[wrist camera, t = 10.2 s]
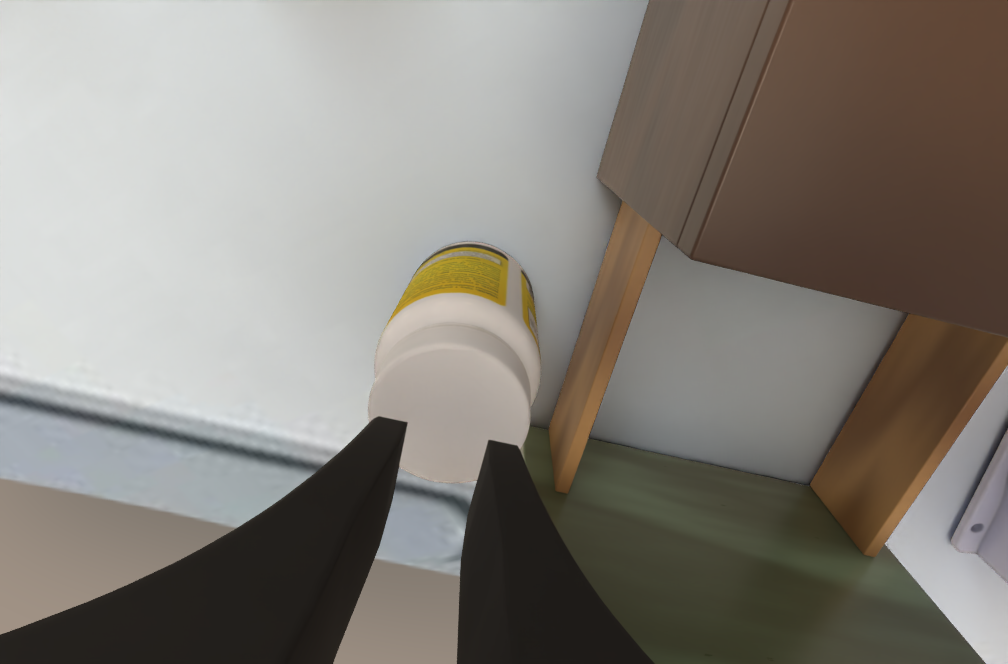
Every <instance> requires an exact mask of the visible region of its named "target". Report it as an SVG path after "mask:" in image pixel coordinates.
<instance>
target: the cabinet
mask: <svg viewBox="0 0 1008 664" xmlns="http://www.w3.org/2000/svg"><path fill="white" fill-rule="evenodd" d="M596 177H597V178H598V179H599V180H600V181H601V182H602V183H603V184H604V185H606V186H607V187H608V188H609V189H610V190H611V191H613V192H614V193H615V194H616V195H617V196H618V197H619V198H621V199H622V200H623V201H624V202H625V203H626V204H627V205H629V206H630V207H631V208H632V209H633V210H634V211H636V212H637V213H638V214H639V215H640V216H641V217H642V218H644V219H645V220H646V221H647V222H648V223H649V224H650V225H652V226H653V227H654V228H655V229H656V230H657V231H659V232H660V233H661V234H662V235H663V236H664V237H665V238H667V239H668V240H669V241H670V242H671V243H672V244H673V245H675V246H676V247H677V248H678V249H680V250H681V251H682V252H683V253H684V254H685V255H687V256H688V257H689V258H690V259H691V260H695V261H699V262H703V263H707V264H711V265H715V266H719V267H723V268H727V269H731V270H735V271H740V272H744V273H748V274H752V275H756V276H760V277H764V278H768V279H772V280H776V281H780V282H784V283H788V284H792V285H796V286H800V287H804V288H808V289H812V290H817V291H821V292H825V293H829V294H833V295H837V296H841V297H845V298H849V299H853V300H857V301H861V302H865V303H869V304H873V305H877V306H881V307H885V308H889V309H893V310H898V311H902V312H906V313H910V314H914V315H918V316H922V317H926V318H930V319H934V320H938V321H942V322H946V323H950V324H954V325H958V326H962V327H966V328H970V329H974V330H979V331H983V332H987V333H991V334H995V335H999V336H1003V337H1007V338H1008V0H649V3H648V6H647V10H646V13H645V16H644V20H643V23H642V26H641V30H640V33H639V36H638V40H637V43H636V46H635V50H634V53H633V56H632V60H631V63H630V66H629V70H628V73H627V76H626V80H625V83H624V86H623V90H622V93H621V96H620V100H619V103H618V106H617V110H616V113H615V116H614V120H613V123H612V126H611V130H610V133H609V136H608V140H607V143H606V146H605V150H604V153H603V156H602V160H601V163H600V166H599V170H598V173H597V176H596Z"/></svg>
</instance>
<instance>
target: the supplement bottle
mask: <svg viewBox="0 0 1008 664" xmlns="http://www.w3.org/2000/svg"><path fill="white" fill-rule="evenodd" d="M374 369H375V378H376V379H375V382H374V384H373V386H372V390H371V393H370V396H369V403H368V418H369V423H370V421H371V420H372V419H374V418H376V417H378V416H381V417H385V418H390V419H395V420H399V421H404V422H408V424H407V429H406V434H405V439H404V444H403V449H402V454H401V459H400V464H399V467H401V468H402V469H404V470H405V471H407V472H409V473H411V474H413V475H415V476H417V477H420V478H423V479H426V480H430V481H435V482H442V483H464V482H471V481H475V480H478V476H479V472H480V469H481V465H482V461H483V458H484V454H485V450H486V447H487V443H488V440H494V441H498V442H503V443H508V444H512V445H517V446H518V448H519V449H521V447H522V445H523V443H524V442H525V440H526V437H527V434H528V431H529V426H530V420H531V407H532V405H533V403H534V401H535V398H536V396H537V393H538V389H539V386H540V380H541V357H540V348H539V340H538V331H537V322H536V313H535V304H534V296H533V291H532V287H531V284H530V281H529V279H528V277H527V275H526V273H525V272H524V270H523V269H522V267H521V266H520V265H519V264H518V263H517V262H516V261H515V260H514V259H513V258H512V257H511V256H510V255H508V254H507V253H505V252H503V251H502V250H500V249H498V248H496V247H494V246H491V245H488V244H485V243H480V242H459V243H455V244H451V245H448V246H445V247H443V248H441V249H439V250H437V251H436V252H434V253H433V254H432V255H430V256H429V257H428V258H427V259H426V260H425V261H424V262H423V263H422V264H421V265H420V267H419V268H418V269H417V271H416V272H415V274H414V276H413V277H412V280H411V281H410V283H409V285H408V287H407V289H406V290H405V292H404V294H403V296H402V298H401V299H400V301H399V303H398V305H397V307H396V309H395V311H394V312H393V314H392V316H391V318H390V320H389V321H388V323H387V325H386V327H385V329H384V331H383V332H382V334H381V337H380V339H379V341H378V345H377V349H376V354H375V363H374Z"/></svg>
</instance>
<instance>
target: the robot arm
mask: <svg viewBox="0 0 1008 664" xmlns="http://www.w3.org/2000/svg"><path fill="white" fill-rule="evenodd" d="M407 424H408V422H404V421H399V420H395V419H390V418H385V417H381V416H378V417H376V418H374V419H372V420H371V421H370V423H369V424H368V425H367V426H366V427H365V428H364V429H363V430H362V431H361V432H360V433H359V434H358V435H357V436H356V437H355V438H354V439H353V440H352V441H351V442H350V443H349V444H348V445H347V446H346V447H345V448H344V449H343V450H341V451H340V452H339V453H338V454H337V455H336V456H335V457H333V458H332V459H331V460H330V461H329V462H328V463H326V464H325V465H324V466H323V467H322V468H321V469H320V470H318V471H317V472H316V473H315V474H313V475H312V476H311V477H310V478H308V479H307V480H306V481H304V482H303V483H302V484H300V485H299V486H298V487H296V488H295V489H294V490H293V491H291V492H290V493H289V494H287V495H286V496H285V497H283V498H282V499H281V500H279V501H278V502H276V503H275V504H273V505H272V506H270V507H269V508H268V509H266V510H265V511H263V512H262V513H260V514H259V515H257V516H255V517H254V518H252V519H251V520H249V521H248V522H246V523H244V524H243V525H241V526H240V527H238V528H236V529H235V530H233V531H231V532H230V533H228V534H226V535H224V536H223V537H221V538H219V539H217V540H216V541H214V542H212V543H210V544H209V545H207V546H205V547H203V548H202V549H200V550H198V551H196V552H194V553H192V554H191V555H189V556H187V557H185V558H183V559H181V560H179V561H177V562H175V563H173V564H171V565H169V566H167V567H165V568H163V569H161V570H158V571H156V572H154V573H152V574H150V575H148V576H146V577H143V578H141V579H139V580H137V581H135V582H133V583H131V584H129V585H127V586H124V587H122V588H119V589H117V590H115V591H113V592H110V593H108V594H105V595H103V596H101V597H98V598H96V599H93V600H91V601H89V602H87V603H84V604H81V605H78V606H76V607H73V608H71V609H68V610H65V611H63V612H60V613H58V614H55V615H52V616H50V617H47V618H45V619H42V620H39V621H36V622H34V623H31V624H28V625H26V626H23V627H21V628H18V629H15V630H12V631H10V632H7V633H4V634H1V635H0V664H333V662H334V659H335V656H336V654H337V651H338V648H339V646H340V643H341V641H342V638H343V636H344V633H345V631H346V628H347V626H348V623H349V621H350V618H351V616H352V613H353V611H354V608H355V606H356V603H357V601H358V598H359V596H360V593H361V591H362V588H363V586H364V583H365V581H366V578H367V576H368V573H369V571H370V568H371V566H372V563H373V561H374V558H375V556H376V553H377V551H378V548H379V546H380V542H381V538H382V535H383V531H384V528H385V524H386V521H387V517H388V514H389V510H390V506H391V503H392V499H393V494H394V489H395V484H396V479H397V474H398V469H399V464H400V459H401V454H402V449H403V444H404V439H405V434H406V429H407ZM951 545H952V546H953V547H954V548H955V549H956V550H957V551H959V552H962V553H976V554H977V555H978V556H979V557H980V558H982V559H983V560H984V561H985V562H986V563H987V564H988V565H989V566H990V567H991V568H992V569H993V570H994V571H995V572H996V573H997V574H998V575H999V576H1000V577H1001V578H1002V579H1003V580H1004V581H1005V582H1006V583H1007V584H1008V429H1007V431H1006V433H1005V435H1004V437H1003V439H1002V441H1001V443H1000V445H999V446H998V448H997V450H996V452H995V454H994V456H993V458H992V460H991V462H990V464H989V466H988V468H987V470H986V472H985V474H984V476H983V478H982V480H981V482H980V484H979V486H978V488H977V490H976V491H975V493H974V495H973V497H972V499H971V501H970V503H969V505H968V507H967V509H966V511H965V513H964V515H963V517H962V519H961V521H960V523H959V525H958V527H957V529H956V531H955V533H954V535H953V537H952V539H951ZM457 664H655V663H654V662H653V661H652V660H651V659H650V658H649V657H648V656H647V654H646V653H645V652H644V651H643V650H642V649H641V648H640V646H639V645H638V644H637V643H636V642H635V640H634V639H633V638H632V637H631V636H630V634H629V633H628V632H627V631H626V630H625V629H624V627H623V626H622V625H621V624H620V623H619V621H618V620H617V619H616V618H615V616H614V615H613V614H612V613H611V611H610V610H609V609H608V607H607V606H606V605H605V604H604V602H603V601H602V600H601V598H600V597H599V595H598V594H597V593H596V591H595V590H594V588H593V587H592V585H591V584H590V583H589V581H588V580H587V578H586V577H585V575H584V574H583V572H582V571H581V569H580V568H579V566H578V564H577V563H576V561H575V560H574V558H573V556H572V555H571V553H570V551H569V550H568V548H567V546H566V545H565V543H564V541H563V540H562V538H561V536H560V534H559V532H558V531H557V529H556V527H555V525H554V523H553V521H552V519H551V517H550V515H549V513H548V511H547V509H546V507H545V506H544V504H543V502H542V500H541V497H540V495H539V493H538V491H537V489H536V487H535V484H534V482H533V480H532V478H531V475H530V473H529V471H528V468H527V466H526V463H525V461H524V458H523V456H522V453H521V451H520V449H519V448H518V446H517V445H512V444H508V443H503V442H498V441H494V440H488V443H487V447H486V450H485V454H484V458H483V461H482V465H481V469H480V472H479V476H478V480H477V483H476V487H475V490H474V494H473V498H472V501H471V505H470V509H469V512H468V516H467V523H466V530H465V536H464V543H463V550H462V557H461V570H460V596H459V622H458V649H457Z"/></svg>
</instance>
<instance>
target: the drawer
mask: <svg viewBox="0 0 1008 664" xmlns="http://www.w3.org/2000/svg"><path fill="white" fill-rule="evenodd" d="M661 236H662V234H661V233H660V232H659V231H657V230H656V229H655V228H654V227H653V226H652V225H650V224H649V223H648V222H647V221H646V220H645V219H644V218H642V217H641V216H640V215H639V214H638V213H637V212H636V211H634V210H633V209H632V208H631V207H630V206H629V205H627V204H626V203H625V202H624V201H622V204H621V207H620V210H619V213H618V216H617V219H616V222H615V225H614V228H613V231H612V234H611V238H610V241H609V244H608V247H607V250H606V253H605V256H604V259H603V262H602V265H601V268H600V271H599V274H598V278H597V281H596V284H595V287H594V290H593V293H592V296H591V299H590V302H589V305H588V308H587V311H586V315H585V318H584V321H583V324H582V327H581V330H580V333H579V336H578V339H577V342H576V345H575V348H574V352H573V355H572V358H571V361H570V364H569V367H568V370H567V373H566V376H565V379H564V382H563V385H562V388H561V392H560V395H559V398H558V401H557V404H556V407H555V410H554V413H553V416H552V419H551V422H550V425H549V430H547V429H542V428H537V427H533V426H529V431H528V434H527V437H526V440H525V442H524V443H523V445H522V447H521V449H520V451H521V453H522V456H523V458H524V461H525V463H526V466H527V468H528V471H529V473H530V475H531V478H532V480H533V482H534V484H535V487H536V489H537V491H538V493H539V495H540V497H541V500H542V502H543V504H544V506H545V507H546V509H547V511H548V513H549V515H550V517H551V519H552V521H553V523H554V525H555V527H556V529H557V531H558V532H559V534H560V536H561V538H562V540H563V541H564V543H565V545H566V546H567V548H568V550H569V551H570V553H571V555H572V556H573V558H574V560H575V561H576V563H577V564H578V566H579V568H580V569H581V571H582V572H583V574H584V575H585V577H586V578H587V580H588V581H589V583H590V584H591V585H592V587H593V588H594V590H595V591H596V593H597V594H598V595H599V597H600V598H601V600H602V601H603V602H604V604H605V605H606V606H607V607H608V609H609V610H610V611H611V613H612V614H613V615H614V616H615V618H616V619H617V620H618V621H619V623H620V624H621V625H622V626H623V627H624V629H625V630H626V631H627V632H628V633H629V634H630V636H631V637H632V638H633V639H634V640H635V642H636V643H637V644H638V645H639V646H640V648H641V649H642V650H643V651H644V652H645V653H646V654H647V656H648V657H649V658H650V659H651V660H652V661H653V662H654V663H655V664H986V663H985V662H984V661H983V660H982V658H981V657H980V656H979V655H978V654H977V653H976V651H975V650H974V649H973V648H972V647H971V645H970V644H969V643H968V642H967V641H966V640H965V638H964V637H963V636H962V635H961V634H960V632H959V631H958V630H957V629H956V628H955V627H954V625H953V624H952V623H951V622H950V621H949V619H948V618H947V617H946V616H945V615H944V614H943V612H942V611H941V610H940V609H939V608H938V606H937V605H936V604H935V603H934V602H933V601H932V599H931V598H930V597H929V596H928V595H927V593H926V592H925V591H924V590H923V589H922V588H921V586H920V585H919V584H918V583H917V582H916V581H915V579H914V578H913V577H912V576H911V575H910V573H909V572H908V571H907V570H906V569H905V568H904V566H903V565H902V564H901V563H900V562H899V560H898V559H897V558H896V557H895V556H894V555H893V553H892V552H891V551H890V550H889V549H888V547H887V546H886V545H885V542H886V541H887V539H888V538H889V537H890V535H891V534H892V532H893V531H894V529H895V528H896V526H897V525H898V523H899V522H900V521H901V519H902V518H903V516H904V515H905V513H906V512H907V510H908V509H909V507H910V506H911V505H912V503H913V502H914V500H915V499H916V497H917V496H918V494H919V493H920V491H921V490H922V489H923V487H924V486H925V484H926V483H927V481H928V480H929V478H930V477H931V475H932V474H933V473H934V471H935V470H936V468H937V467H938V465H939V464H940V462H941V461H942V459H943V458H944V457H945V455H946V454H947V452H948V451H949V449H950V448H951V446H952V445H953V443H954V442H955V441H956V439H957V438H958V436H959V435H960V433H961V432H962V430H963V429H964V427H965V426H966V425H967V423H968V422H969V420H970V419H971V417H972V416H973V414H974V413H975V411H976V410H977V409H978V407H979V406H980V404H981V403H982V401H983V400H984V398H985V397H986V395H987V394H988V393H989V391H990V390H991V388H992V387H993V385H994V384H995V382H996V381H997V379H998V378H999V377H1000V375H1001V374H1002V372H1003V371H1004V369H1005V368H1006V366H1007V365H1008V338H1007V337H1003V336H999V335H995V334H991V333H987V332H983V331H979V330H974V329H970V328H966V327H962V326H958V325H954V324H950V323H946V322H942V321H938V320H934V319H930V318H926V317H922V316H918V315H914V314H910V313H909V315H908V316H907V318H906V320H905V322H904V323H903V325H902V327H901V328H900V330H899V332H898V334H897V335H896V337H895V339H894V340H893V342H892V344H891V346H890V347H889V349H888V351H887V352H886V354H885V356H884V358H883V359H882V361H881V363H880V365H879V366H878V368H877V370H876V371H875V373H874V375H873V377H872V378H871V380H870V382H869V383H868V385H867V387H866V389H865V390H864V392H863V394H862V395H861V397H860V399H859V401H858V402H857V404H856V406H855V408H854V409H853V411H852V413H851V414H850V416H849V418H848V420H847V421H846V423H845V425H844V426H843V428H842V430H841V432H840V433H839V435H838V437H837V438H836V440H835V442H834V444H833V445H832V447H831V449H830V451H829V452H828V454H827V456H826V457H825V459H824V461H823V463H822V464H821V466H820V468H819V469H818V471H817V473H816V475H815V476H814V478H813V480H812V481H811V483H810V486H806V485H802V484H797V483H792V482H788V481H783V480H778V479H774V478H769V477H765V476H760V475H755V474H751V473H746V472H741V471H737V470H732V469H727V468H723V467H718V466H714V465H709V464H704V463H700V462H695V461H690V460H686V459H681V458H676V457H672V456H667V455H663V454H658V453H653V452H649V451H644V450H639V449H635V448H630V447H625V446H621V445H616V444H612V443H607V442H602V441H598V440H593V439H588V438H589V435H590V432H591V429H592V427H593V424H594V421H595V418H596V416H597V413H598V410H599V407H600V404H601V402H602V399H603V396H604V393H605V391H606V388H607V385H608V382H609V380H610V377H611V374H612V371H613V369H614V366H615V363H616V360H617V358H618V355H619V352H620V349H621V347H622V344H623V341H624V338H625V336H626V333H627V330H628V327H629V324H630V322H631V319H632V316H633V313H634V311H635V308H636V305H637V302H638V300H639V297H640V294H641V291H642V289H643V286H644V283H645V280H646V278H647V275H648V272H649V269H650V267H651V264H652V261H653V258H654V255H655V253H656V250H657V247H658V244H659V242H660V239H661Z"/></svg>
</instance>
